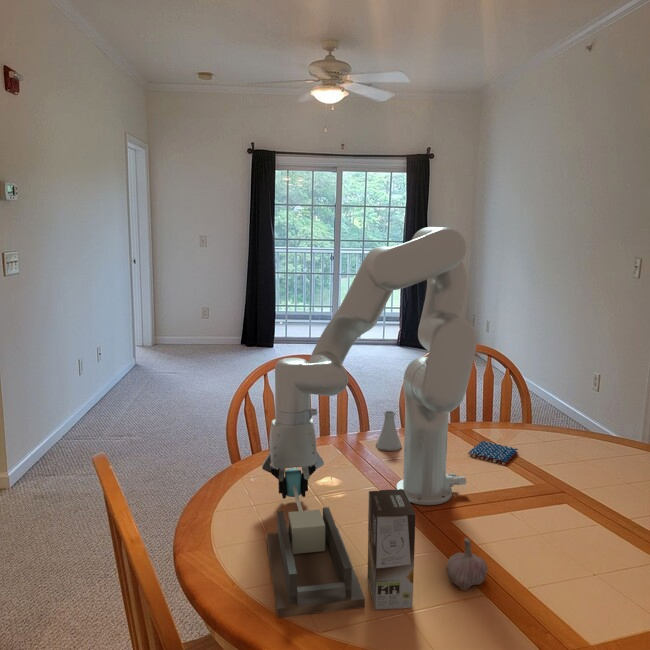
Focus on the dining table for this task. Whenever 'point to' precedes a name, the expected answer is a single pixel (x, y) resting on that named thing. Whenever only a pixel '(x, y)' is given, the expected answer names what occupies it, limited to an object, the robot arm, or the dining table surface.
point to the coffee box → (391, 549)
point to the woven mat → (493, 452)
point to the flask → (389, 434)
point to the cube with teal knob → (303, 520)
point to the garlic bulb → (466, 568)
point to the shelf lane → (312, 573)
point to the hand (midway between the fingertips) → (293, 494)
